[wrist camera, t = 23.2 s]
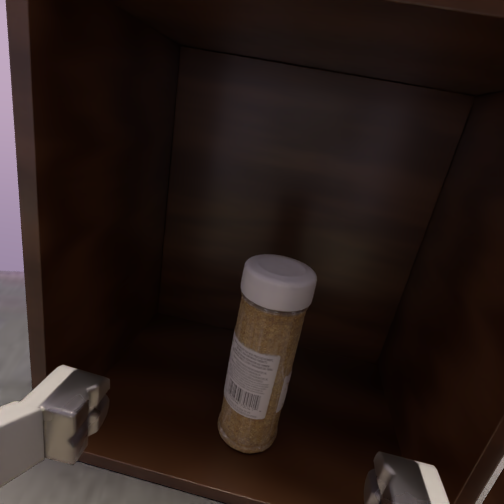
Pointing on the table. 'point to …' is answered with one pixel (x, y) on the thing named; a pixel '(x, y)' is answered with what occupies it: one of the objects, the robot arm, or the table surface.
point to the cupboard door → (496, 491)
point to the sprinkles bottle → (264, 349)
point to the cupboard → (269, 228)
